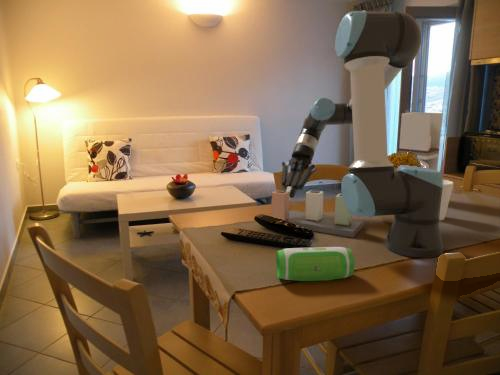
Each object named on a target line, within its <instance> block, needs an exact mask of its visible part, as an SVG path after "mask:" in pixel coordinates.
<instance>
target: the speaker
mask: <svg viewBox="0 0 500 375" xmlns="http://www.w3.org/2000/svg"><path fill="white" fill-rule="evenodd" d="M275 262H276V263H275V264H276V265H275V266H276V276H277V278H278V279H281V280H285V281H286V280H287V281H297V282H298V281H299V282H316V281H333V280H338V279H346V278H348V277H351V276H353V275H354V273H355V272H354V271H355V256H354V254H353V251H352V249H351V248H348V247H344V246H343V247H342V246H325V247H324V246H323V247H322V246H321V247H315V246H314V247H292V248H291V247H290V248H288V247H287V248H282V249H279V250H277V251H276V255H275Z"/></svg>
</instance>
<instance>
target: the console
mask: <svg viewBox="0 0 500 375" xmlns="http://www.w3.org/2000/svg"><path fill="white" fill-rule="evenodd" d="M269 216H272V213H271V214H270V215H269ZM305 216H306V211H299V210H298V211H297V210H292V209H291V210H290V209H289V218H287V219H286V221H289V222H292V223H295V224H296V225H299V226H302V227H304V228H307V229H309V230H308V231H310V230H312V231H311V232H316V231H317V233H322V232H323V233H324V234H329V235H335V236H341V237H347V238H352V239H353V238H354V237H355V236H356V235H357V234H358V233H359V232H360V231H361V230H362V229H363V227H364V223H365V222H364V220H361V219H355V218H352V222H351V223H350V224H349V225H342V224H335V215H334V216H332V215H328V214H327V215H326V214H323V217H322V218H321V219H320V220H319V221H316V220H309V219H305Z"/></svg>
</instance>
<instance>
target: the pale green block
mask: <svg viewBox="0 0 500 375" xmlns="http://www.w3.org/2000/svg"><path fill="white" fill-rule="evenodd" d="M334 203H335V205H334V217H335V224H342V225H349V224H350V223H351V222H352V219H353V214H351V213H350V212H349V210H348V209H347V207H346V205H345V203H344V200H343V197H342V192H341V193H338V194H337V195H335V200H334Z"/></svg>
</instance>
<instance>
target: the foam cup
mask: <svg viewBox="0 0 500 375" xmlns="http://www.w3.org/2000/svg"><path fill="white" fill-rule="evenodd" d="M453 190H454V182H453V181H452V180H451V181H450V180H449V179H443V189H442V196H441V206H440V216H439V221H444V220H445V218H446V214H447V210H448V206H449V203H450V199H451V195H452V192H453Z"/></svg>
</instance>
